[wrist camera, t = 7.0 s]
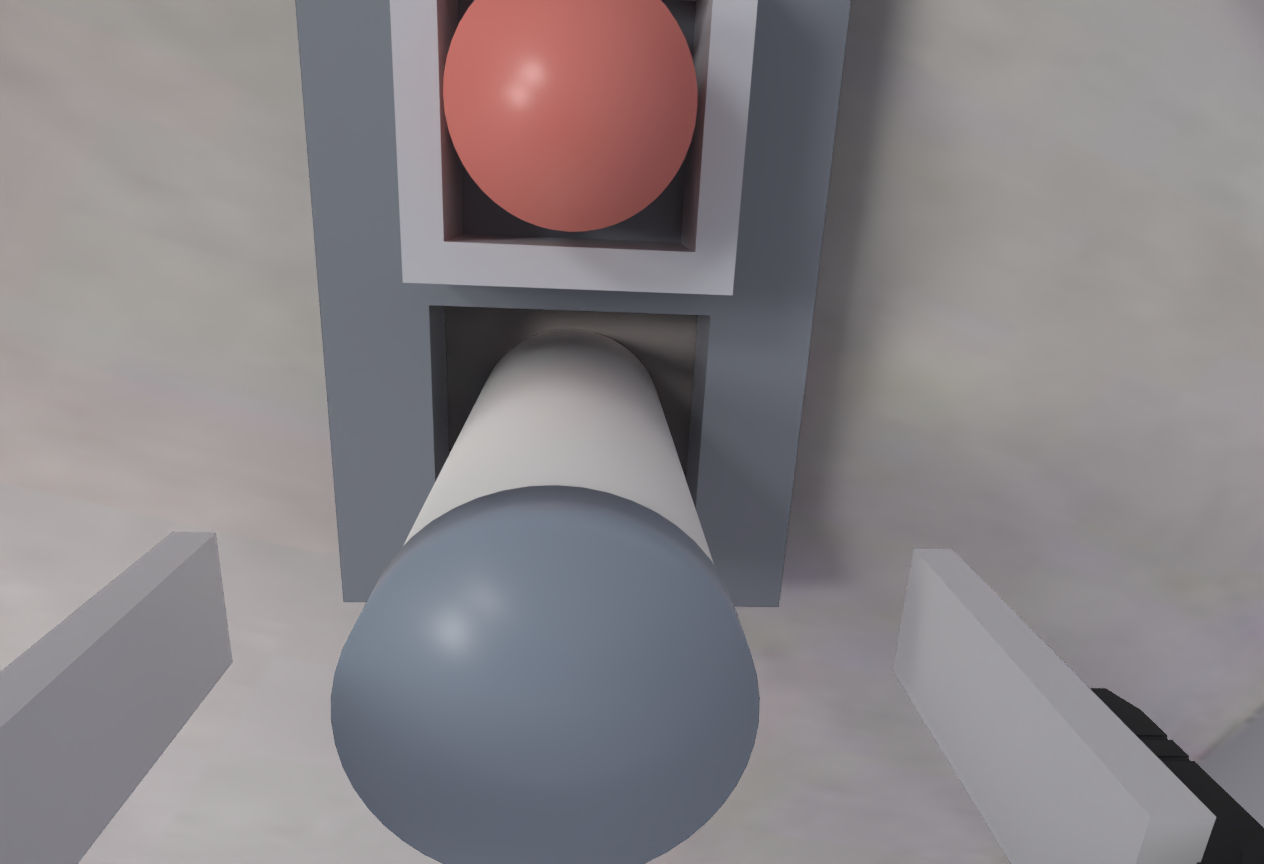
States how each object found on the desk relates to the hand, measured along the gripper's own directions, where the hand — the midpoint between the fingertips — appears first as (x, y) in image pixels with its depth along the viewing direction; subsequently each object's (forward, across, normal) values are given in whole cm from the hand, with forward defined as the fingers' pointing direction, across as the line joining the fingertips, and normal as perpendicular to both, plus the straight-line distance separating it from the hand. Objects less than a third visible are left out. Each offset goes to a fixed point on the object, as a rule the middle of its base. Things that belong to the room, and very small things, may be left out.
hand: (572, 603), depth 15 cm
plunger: (+8, 0, +9) cm, 13 cm away
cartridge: (+12, 0, 0) cm, 12 cm away
